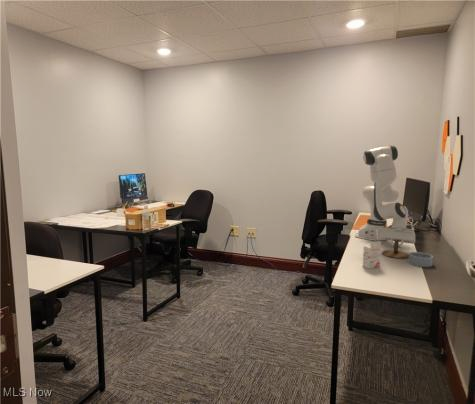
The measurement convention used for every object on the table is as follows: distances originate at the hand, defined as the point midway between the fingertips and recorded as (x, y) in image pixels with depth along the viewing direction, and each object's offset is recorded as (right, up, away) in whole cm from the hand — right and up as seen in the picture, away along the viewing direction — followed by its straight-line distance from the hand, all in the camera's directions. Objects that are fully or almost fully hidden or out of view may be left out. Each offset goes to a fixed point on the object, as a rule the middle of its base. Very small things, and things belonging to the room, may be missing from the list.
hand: (396, 246), depth 212 cm
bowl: (+7, -8, -14) cm, 18 cm away
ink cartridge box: (-24, -8, -22) cm, 34 cm away
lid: (0, -5, +1) cm, 5 cm away
